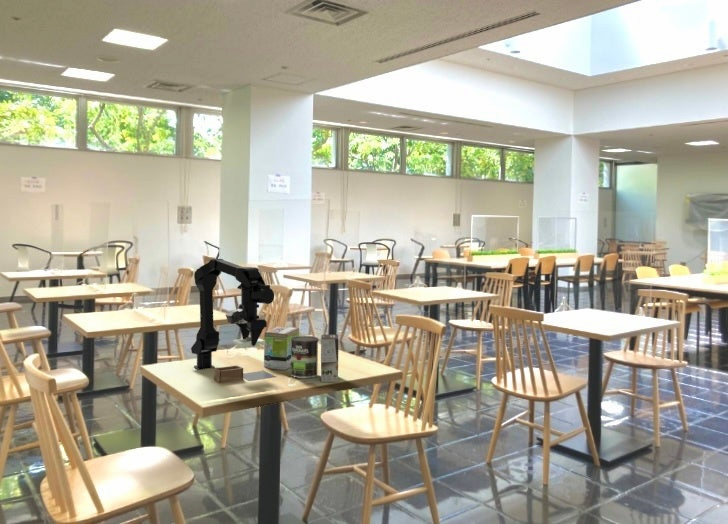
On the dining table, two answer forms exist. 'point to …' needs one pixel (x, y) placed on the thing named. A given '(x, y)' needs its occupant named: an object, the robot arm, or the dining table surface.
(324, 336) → the coffee box
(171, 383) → the dining table surface
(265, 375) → the coaster
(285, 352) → the tea box
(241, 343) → the lid
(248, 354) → the dining table surface
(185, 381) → the dining table surface
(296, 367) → the coffee can
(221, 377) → the box
